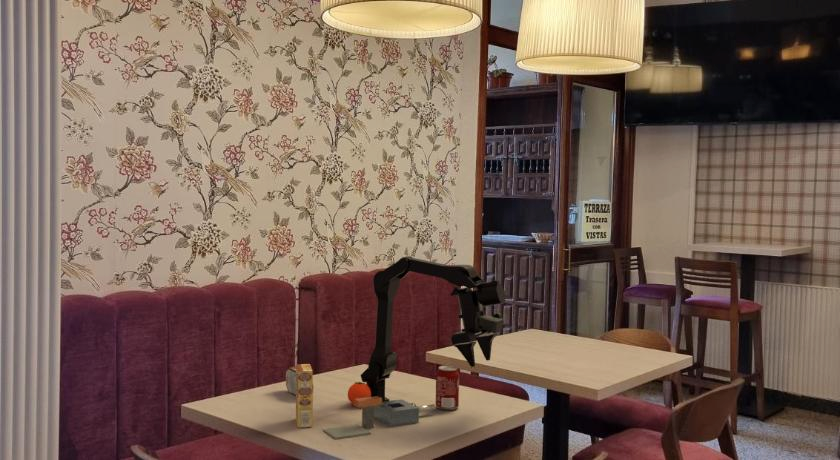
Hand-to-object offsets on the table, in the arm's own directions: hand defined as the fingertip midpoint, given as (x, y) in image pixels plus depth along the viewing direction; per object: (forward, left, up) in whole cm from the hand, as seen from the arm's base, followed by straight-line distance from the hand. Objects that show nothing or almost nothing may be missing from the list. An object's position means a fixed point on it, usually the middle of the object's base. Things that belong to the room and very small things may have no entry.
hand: (480, 363), depth 227 cm
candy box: (-15, -47, -15) cm, 52 cm away
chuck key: (-4, -33, -15) cm, 37 cm away
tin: (-43, -38, -15) cm, 60 cm away
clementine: (-25, -26, -15) cm, 39 cm away
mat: (-2, -40, -15) cm, 43 cm away
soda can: (-11, -4, -15) cm, 19 cm away
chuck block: (-7, -19, -15) cm, 26 cm away
